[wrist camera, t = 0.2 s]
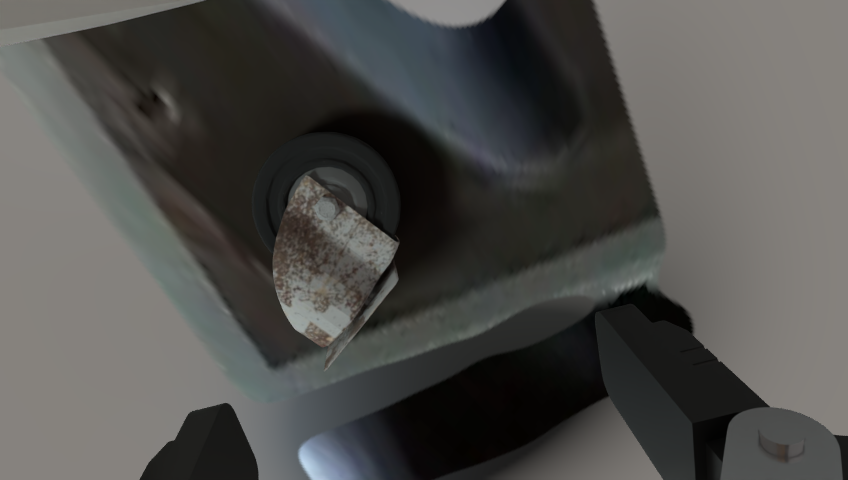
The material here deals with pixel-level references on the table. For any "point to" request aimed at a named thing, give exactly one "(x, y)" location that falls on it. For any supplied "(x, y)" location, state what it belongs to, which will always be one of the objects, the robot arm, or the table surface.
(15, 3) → the plinth
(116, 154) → the table surface
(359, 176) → the grey speckled two-tone part
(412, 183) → the table surface
